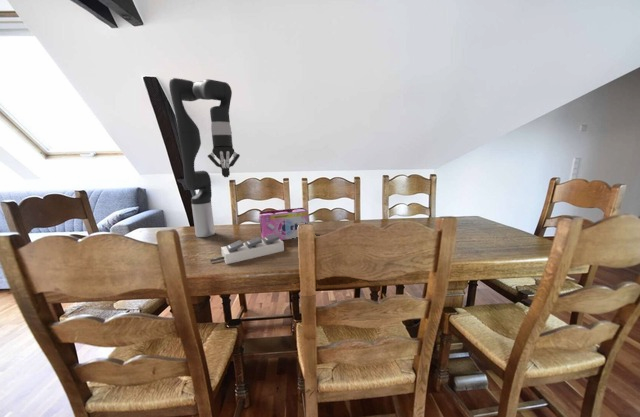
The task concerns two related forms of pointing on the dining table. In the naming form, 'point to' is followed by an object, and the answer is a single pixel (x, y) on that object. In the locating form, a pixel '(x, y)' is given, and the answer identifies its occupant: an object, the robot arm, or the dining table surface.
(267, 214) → the gum box
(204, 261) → the dining table surface
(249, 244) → the rocker
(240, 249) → the power strip
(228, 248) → the rocker
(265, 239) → the rocker
